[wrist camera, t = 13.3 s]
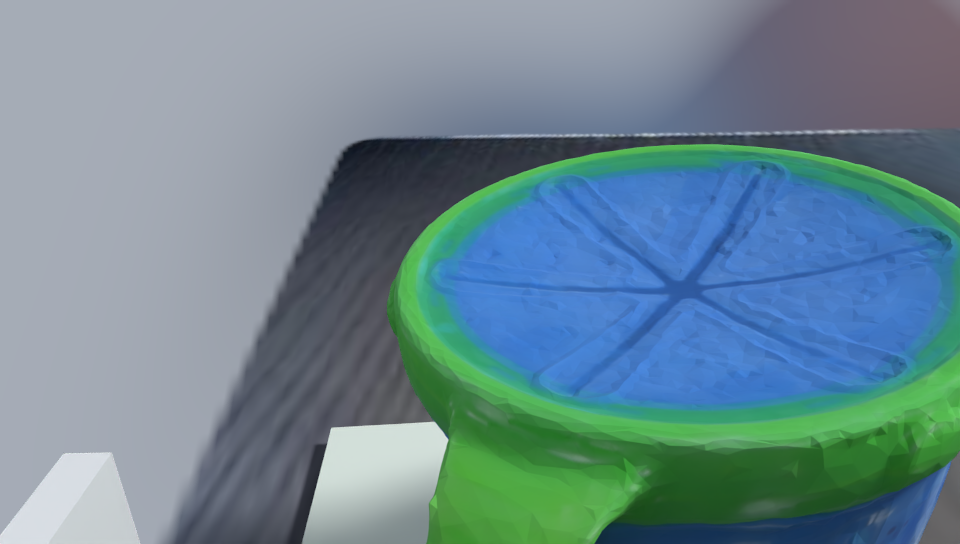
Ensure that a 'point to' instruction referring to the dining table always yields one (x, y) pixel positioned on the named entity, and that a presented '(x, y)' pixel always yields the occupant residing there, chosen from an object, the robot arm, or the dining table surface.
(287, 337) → the dining table surface
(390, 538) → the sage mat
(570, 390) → the snack cup
